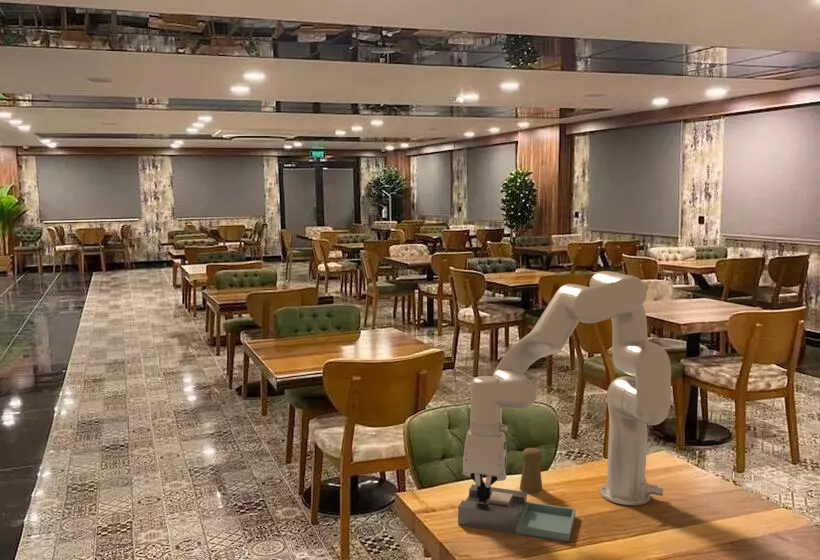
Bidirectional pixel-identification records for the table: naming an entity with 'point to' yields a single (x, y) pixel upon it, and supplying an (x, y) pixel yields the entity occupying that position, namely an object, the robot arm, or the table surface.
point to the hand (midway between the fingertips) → (483, 500)
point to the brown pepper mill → (531, 471)
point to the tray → (546, 521)
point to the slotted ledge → (491, 511)
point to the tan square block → (501, 499)
